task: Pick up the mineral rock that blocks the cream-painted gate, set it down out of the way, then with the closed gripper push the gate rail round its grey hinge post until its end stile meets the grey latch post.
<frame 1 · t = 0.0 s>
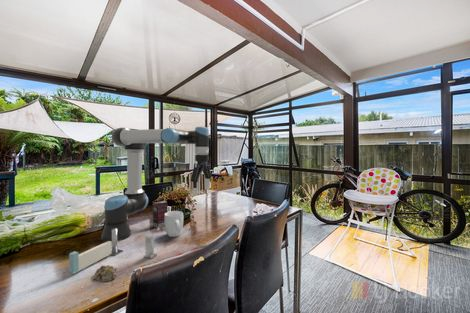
hand: (201, 191, 118), 28 cm above the table, fingers open, 13 cm apart
mug: (174, 235, 125), on the table
latch post: (149, 257, 99), on the table
supplement box: (160, 225, 141), on the table
mineral rock: (106, 276, 84), on the table
hinge post: (114, 252, 103), on the table
gate: (92, 253, 92), point 5 cm above the table, hinge at 0.0°
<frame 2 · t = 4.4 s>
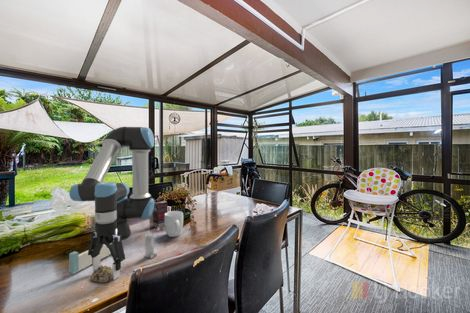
hand: (106, 274, 84), 0 cm above the table, fingers closed on mineral rock, 10 cm apart
mineral rock: (103, 277, 83), on the table, touching gripper
everything else where it was.
when the fingers open (2 cm above the table, at t = 9.7 s): mineral rock drops 2 cm, on the table.
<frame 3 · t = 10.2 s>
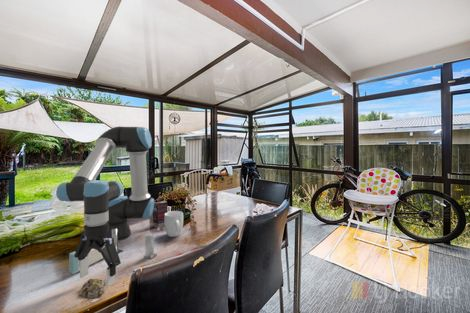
hand: (97, 280, 76), 3 cm above the table, fingers open, 13 cm apart
mineral rock: (93, 292, 75), on the table
everything else where it was.
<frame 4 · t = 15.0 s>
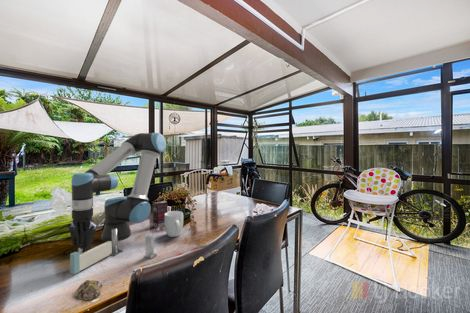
hand: (82, 261, 91), 2 cm above the table, fingers closed
mineral rock: (89, 293, 74), on the table
gate: (92, 253, 92), point 5 cm above the table, hinge at 1.6°, touching gripper
everything else where it was.
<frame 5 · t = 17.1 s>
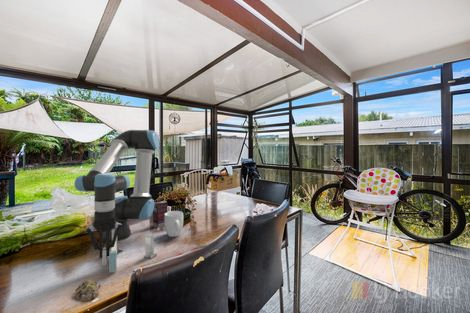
hand: (104, 263, 89), 2 cm above the table, fingers closed
gate: (113, 253, 93), point 5 cm above the table, hinge at 47.5°, touching gripper
everything else where it was.
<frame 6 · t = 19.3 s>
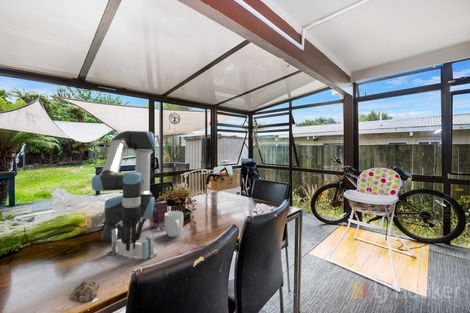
hand: (130, 256, 95), 2 cm above the table, fingers closed
gate: (132, 246, 99), point 5 cm above the table, hinge at 90.6°, touching gripper
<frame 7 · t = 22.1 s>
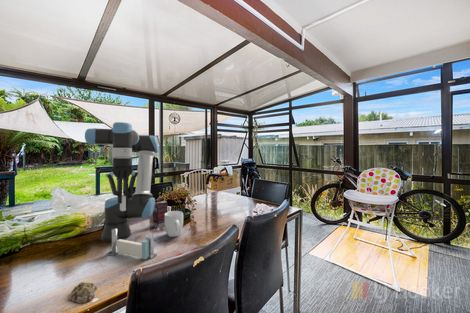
hand: (122, 210, 92), 24 cm above the table, fingers closed
gate: (132, 246, 99), point 5 cm above the table, hinge at 90.5°
at the end: gate at +90° (first picture: +0°); mineral rock moved 11.4 cm from its start; mineral rock touching table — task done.
